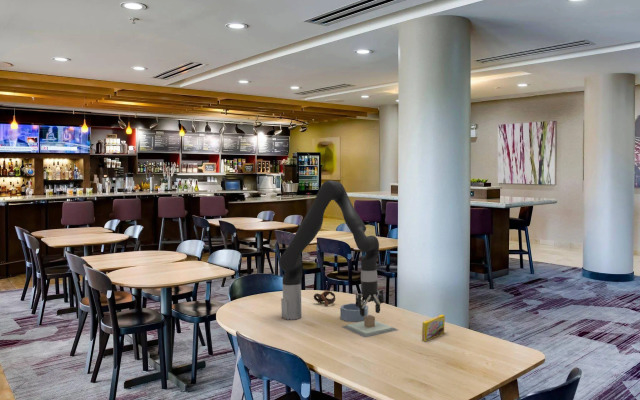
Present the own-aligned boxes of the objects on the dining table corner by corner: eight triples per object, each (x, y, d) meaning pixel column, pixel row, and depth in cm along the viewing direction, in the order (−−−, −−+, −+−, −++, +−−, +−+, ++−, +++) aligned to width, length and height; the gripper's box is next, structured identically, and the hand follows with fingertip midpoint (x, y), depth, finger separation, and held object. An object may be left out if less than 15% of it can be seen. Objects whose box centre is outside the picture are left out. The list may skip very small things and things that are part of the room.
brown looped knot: (333, 302, 296) (337, 291, 291) (332, 313, 287) (336, 302, 283) (312, 297, 295) (315, 286, 291) (311, 308, 287) (314, 297, 283)
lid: (365, 335, 233) (365, 323, 232) (347, 326, 246) (346, 315, 245) (392, 329, 240) (392, 317, 240) (372, 321, 253) (372, 310, 253)
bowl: (351, 324, 252) (350, 311, 251) (336, 317, 263) (336, 306, 262) (373, 319, 258) (372, 307, 258) (357, 313, 269) (357, 302, 269)
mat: (364, 338, 230) (364, 337, 230) (341, 327, 246) (341, 326, 246) (398, 331, 240) (398, 329, 240) (373, 321, 256) (373, 319, 256)
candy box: (425, 342, 224) (425, 323, 224) (421, 341, 226) (421, 322, 225) (445, 332, 236) (444, 314, 236) (440, 332, 238) (440, 313, 237)
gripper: (376, 276, 249) (377, 310, 249) (351, 280, 241) (352, 315, 242) (386, 278, 242) (387, 313, 243) (361, 283, 235) (362, 318, 236)
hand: (370, 314), depth 243 cm, fingers open, 8 cm apart
